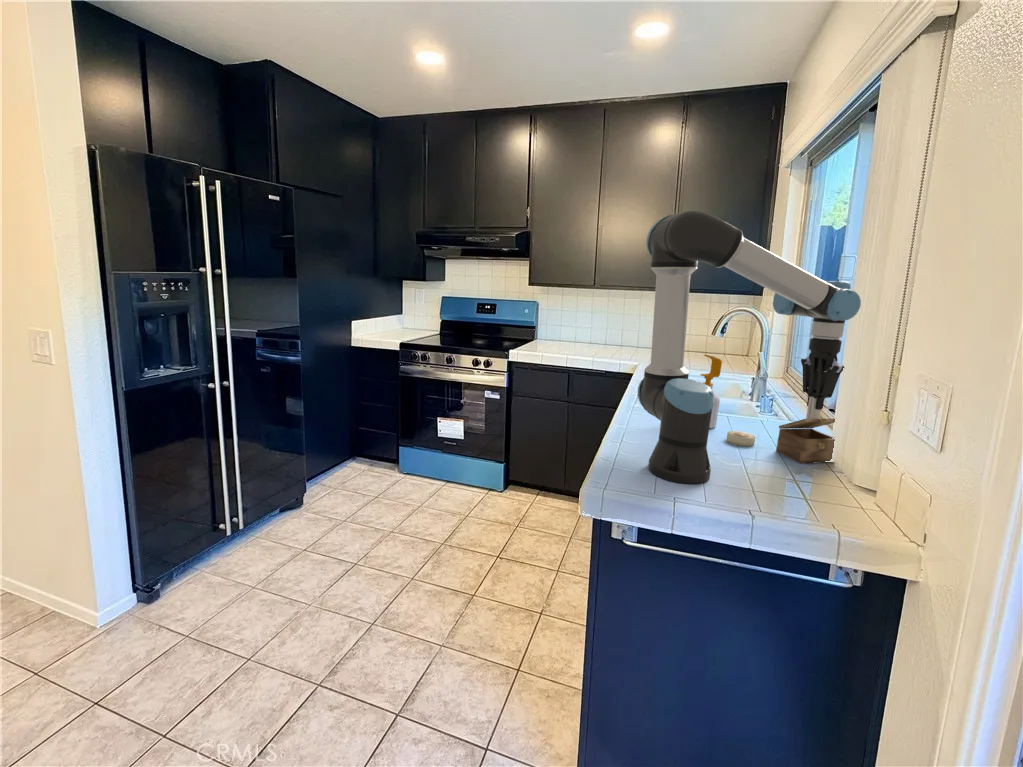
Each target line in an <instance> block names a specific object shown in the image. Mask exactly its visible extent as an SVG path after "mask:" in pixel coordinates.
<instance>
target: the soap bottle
mask: <svg viewBox="0 0 1023 767" xmlns="http://www.w3.org/2000/svg"><path fill="white" fill-rule="evenodd" d="M703 356H704V357H707V358H709V359H710V360H711V365H710V372H709V373H700V376H701V377H704V378H703V379H705V382H704V381H702V383H704V384H706V385H707V386H709V387H710V388H711V389H712V391H713V388H714V383H712V382H711V381H712V380H713V379H714V378H718V377H720V375H721V372H722V364H723V361H722V360H721V359H720V358H718V357H715V356H712V355H708V354H704V355H703ZM713 394H714V397H713V401H714V405H713V408H712V414H711V421H710V427H709V428H711V429H714V427H715V428H716V426H717V422H718V416H719V409H720V403H721V402H720V401H721V398H720V396H719V395H718V394H717V393H716V392H715V391H713Z"/></svg>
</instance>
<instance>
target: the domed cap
mask: <svg viewBox="0 0 1023 767" xmlns="http://www.w3.org/2000/svg"><path fill="white" fill-rule="evenodd" d="M755 441H756V436H755V435H754V434H752V433H750V432H745V431H740V430H739V431H738V430H729V431H727V434H726V442H728V443H729V444H731V445H734V446H739V447H746V448H747V447H750V448H751V447H753V446H755V443H756V442H755Z"/></svg>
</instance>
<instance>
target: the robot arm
mask: <svg viewBox="0 0 1023 767" xmlns="http://www.w3.org/2000/svg"><path fill="white" fill-rule="evenodd" d="M647 233H648V234H647V237H646V248H647V251H648V253H649V255H650V256H651V261H650V269H651V270H652V272H653V273H655V291H654V293H655V294H654V307H653V322H652V323H653V324H652V325H653V326H652V336H651V337H652V340H651V350H650V354H651V355H650V364H649V365H648V366H646V367H645V368H644V372H643V374H644V375H643V379H642V380H640V382H639V383H638V386H637V399H638V402H639V404H640V405H641V407H642V408H643V409H644V410H645V411H646V412H647V413H648V414H650V415H651V416H653V417H654V418H656V419H658V420H659V421H660V424H659V426H660V427H659V433H658V439H657V440H658V441H657V442H656V444H655V446H654V448H653V451H652V452H651V455H650V457H649V458H648V463H647V464H648V465H647V469H648V470H650V471H649V472H650V473H651V474H653V475H655V476H656V477H659V478H661V479H663V480H666V481H668V482H673V483H680V484H688V485H691V484H692V485H695V484H696V485H697V484H702V483H706V482H708V481H709V480H710V477H711V472H712V471H711V470H712V469H711V463H710V459H709V454H708V448H707V446H708V440H709V434H710V429H709V427H710V421H711V414H712V408H713V405H714V401H713V397H714V394H713V392H714V391H712V390H713V388H712V389H711V388H710V387H709V386H707V385H706V384H704V383H703V382H701V381H696V380H693V379H689V373H690V372H689V370H688V369H687V368H686V367H685V365H684V361H685V360H684V359H685V349H686V347H685V346H686V335H687V325H688V311H689V310H688V309H689V300H690V298H689V297H690V287H691V286H690V284H691V277H692V274H693V273H695V271H697V270H698V264H699V262H702V263H705V264H708V265H710V266H713V267H715V268H716V269H719V268H720V269H721V268H722V267H725V268H726V269H728V270H730V271H732V272H734V273H735V274H738V275H741V276H742V277H743V278H746V279H748V280H749V281H752V282H753V283H755V284H756V285H759V286H761V287H763V288H765V289H767V290H768V291H771V292H772V293H774V295H773V300H772V301H773V302H772V307H773V310H774V311H775V313H777V314H779V315H783V316H800V317H805V318H806V317H808V318H812V320H813V321H812V326H811V330H810V331H811V332H810V336H812V337H811V338H809V345H808V350H809V351H810V353H809V354H808V356H807V357H806V358H801V359H800V362H801V366H802V392H803V393H806V394H807V402H806V407H807V409H806V417H805V419H821V411H822V410H823V408H824V404H825V403H824V402H825V399H829V398H832V397H833V395H834V392H835V389H836V386H837V384H838V381H839V377H840V376H841V373H842V372H843V371H844V370H843V368H844V369H845V366H844V365H841V364H840V363H839V362H838V354H839V353H840V352H841V349H842V348H841V347H842V344H843V343H842V342H843V341H842V339H841V338H842V337H843V336H844V329H845V325H846V324H845V323H846V321H848V320H849V321H850V320H851V319H852V318H854V317H855V316H856V315H857V314H858V312H859V310H860V309H861V304H862V303H861V302H862V301H861V300H862V299H861V297H860V295H859V293H858V292H856V291H855V290H852V289H851V287H852V286H851V283H850V282H848V281H839V280H837V281H835V280H823V279H821V278H819V277H818V276H816V275H814V274H812V273H810V272H808V271H806V270H804V269H803V268H801V267H799V266H797V265H795V264H793V263H791V262H790V261H788V260H786V259H784V258H782V257H780V256H778V255H777V254H775V253H773V252H771V251H769V250H768V249H766V248H763V247H762V246H760V245H758V244H757V243H755V242H753V241H751V240H749V239H747V238H745V237H744V233H743V231H742V229H739V228H737V227H736V226H733V225H732V224H730V223H728V222H726V221H725V220H722V219H721V218H718V217H717V216H715V215H713V214H710V213H708V212H705V211H703V210H695V209H692V210H686V211H682V212H679V213H673V214H669V215H667V216H663V217H662V218H661V219H658V220H657V221H656V222H655V223H654V224H653V225H652V227H651V228H650V229H649V231H648V232H647Z"/></svg>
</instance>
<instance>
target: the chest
mask: <svg viewBox="0 0 1023 767" xmlns="http://www.w3.org/2000/svg"><path fill="white" fill-rule="evenodd" d="M833 437H834V436H831V435H829V434H826V433H824V432H821V431H818V430H817V429H815V428H786V429H779V431H778V437H777V443H776V449H775V452H777V453H778V454H781V455H783V456H785V457H786V458H789V459H791V460H793V461H795V462H797V463H799V464H803V463H806V464H815V463H814V462H825V461H830V460H831V459H832V453H833V448H834V441H835V439H834V438H835V437H834V438H833ZM832 438H833V439H832Z"/></svg>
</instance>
